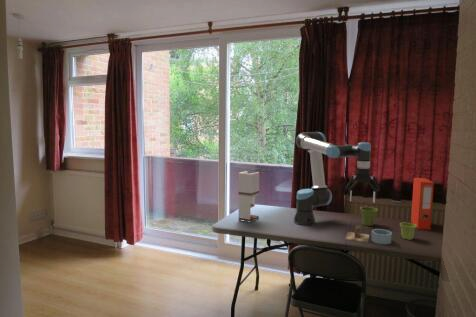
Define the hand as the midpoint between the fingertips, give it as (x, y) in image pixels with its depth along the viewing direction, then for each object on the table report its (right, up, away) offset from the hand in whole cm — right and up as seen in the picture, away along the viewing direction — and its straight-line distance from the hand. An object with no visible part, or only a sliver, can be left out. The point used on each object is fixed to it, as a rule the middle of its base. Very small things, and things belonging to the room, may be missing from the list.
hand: (362, 201), depth 214 cm
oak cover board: (-3, -22, -1) cm, 22 cm away
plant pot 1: (+14, -20, +28) cm, 37 cm away
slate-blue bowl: (+9, -23, -6) cm, 26 cm away
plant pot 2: (+28, -23, 0) cm, 36 cm away
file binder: (+49, -20, +25) cm, 59 cm away
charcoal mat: (-3, -23, -1) cm, 23 cm away
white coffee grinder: (-69, -18, +40) cm, 82 cm away
